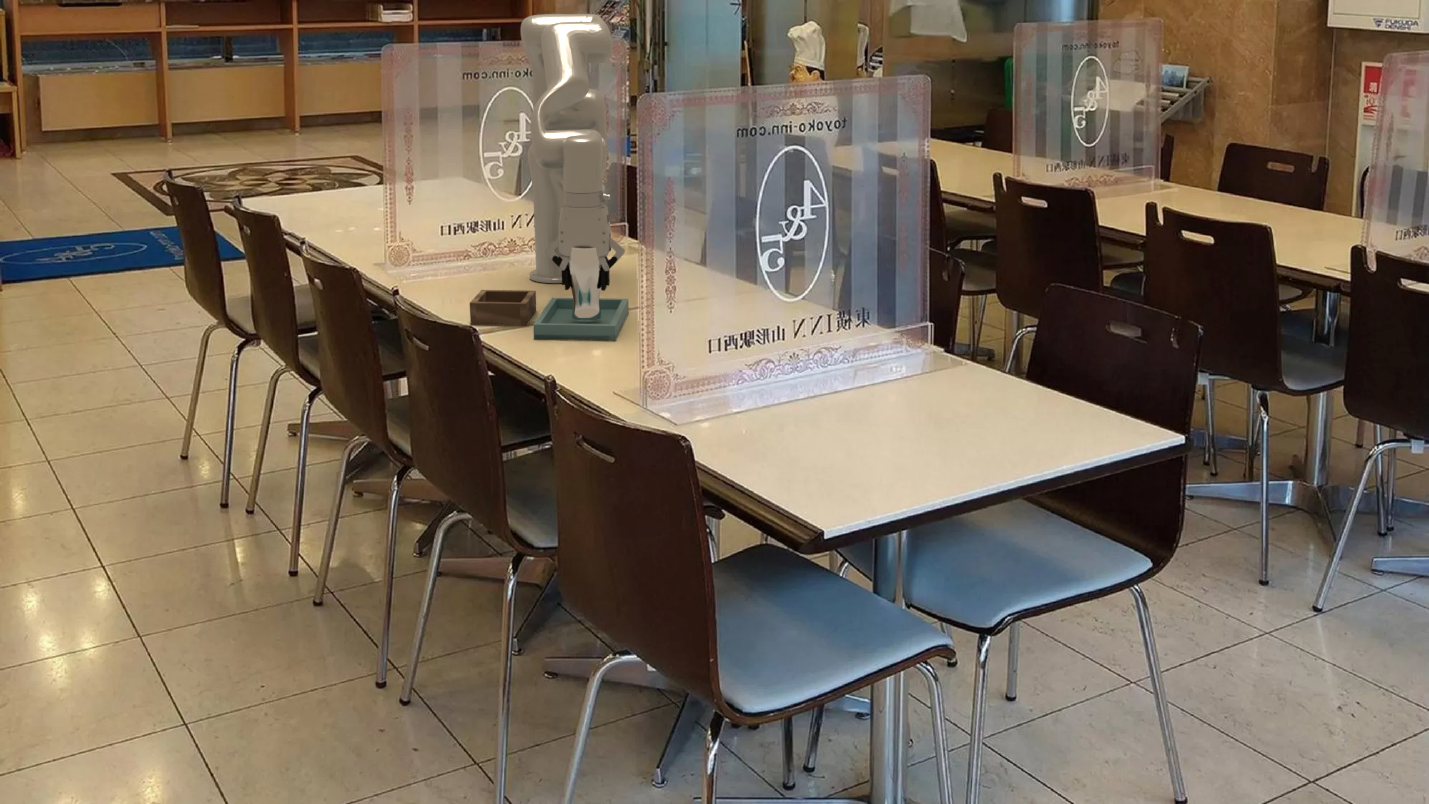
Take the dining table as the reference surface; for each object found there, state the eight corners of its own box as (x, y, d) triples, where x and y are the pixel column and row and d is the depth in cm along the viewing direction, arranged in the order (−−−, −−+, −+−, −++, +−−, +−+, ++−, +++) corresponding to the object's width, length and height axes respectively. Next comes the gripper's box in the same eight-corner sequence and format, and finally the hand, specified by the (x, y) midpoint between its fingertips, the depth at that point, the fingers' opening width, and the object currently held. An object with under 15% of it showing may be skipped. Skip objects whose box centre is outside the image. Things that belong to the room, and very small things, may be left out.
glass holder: (482, 310, 312) (481, 289, 311) (536, 311, 311) (535, 290, 310) (470, 324, 301) (469, 303, 300) (526, 325, 301) (525, 304, 299)
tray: (552, 311, 312) (551, 297, 311) (628, 312, 311) (628, 298, 310) (533, 339, 291) (533, 324, 290) (615, 340, 290) (615, 325, 289)
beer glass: (598, 323, 295) (597, 249, 291) (564, 321, 297) (562, 247, 292) (608, 315, 302) (606, 242, 297) (574, 313, 303) (573, 240, 298)
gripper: (629, 196, 295) (631, 285, 300) (542, 195, 296) (545, 283, 301) (625, 203, 288) (627, 294, 293) (536, 202, 289) (539, 292, 294)
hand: (585, 288), depth 297 cm, fingers closed on beer glass, 6 cm apart
